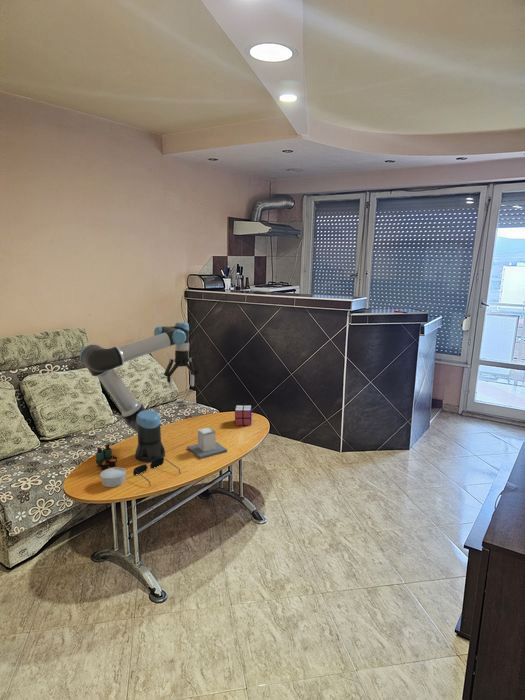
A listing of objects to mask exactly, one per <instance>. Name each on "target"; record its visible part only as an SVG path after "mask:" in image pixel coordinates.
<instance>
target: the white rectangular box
mask: <svg viewBox="0 0 525 700" xmlns="http://www.w3.org/2000/svg"><path fill="white" fill-rule="evenodd" d="M215 441H216V430H214V429H213V428H211V427H209V426H208V427H205V428H199V429H197V444H198V447H199V448H200V449H201V450H202V451H203V452H205V451H209V450H213V449H216V445H215Z"/></svg>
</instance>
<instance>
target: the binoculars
mask: <svg viewBox="0 0 525 700" xmlns="http://www.w3.org/2000/svg"><path fill="white" fill-rule="evenodd" d="M110 446H111V445H110V444H109V443H107V444H105V446H104V447H105V448H102V447H97V451H96V452H95V453H96V455H95V464H96V468H100V470H101V471H104V470H106V469H109V468H114V466H115V467H117V466H116V465H117V464H116V463H117V461H118V458H117V456H114V455H113V453H112V452H113V451H112V448H111V447H110ZM112 460H113V461H112Z"/></svg>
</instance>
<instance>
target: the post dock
mask: <svg viewBox="0 0 525 700" xmlns="http://www.w3.org/2000/svg"><path fill="white" fill-rule="evenodd" d="M215 445H216V449H213V450H209V451H205V452H203V451H202V450H201V449H200V448H199V447H198V443H196V444H192V445H188V446H187V447H186V448H188V449H187V450H189V452H191V453H194V456H196V457H197V458H198V457H199V458H198V459H200V460H202V459H205V458H209V456H210V457H213V456H217V455H220V454H224V453H227V452H228V449H227V448H226V447H224V446H223V445H222V444H220V443H218V441H216V440H215Z"/></svg>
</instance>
